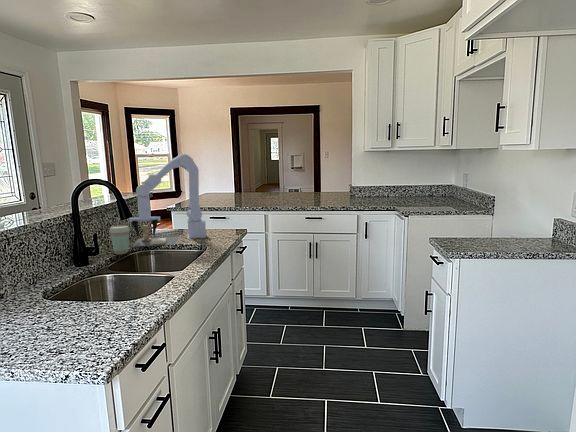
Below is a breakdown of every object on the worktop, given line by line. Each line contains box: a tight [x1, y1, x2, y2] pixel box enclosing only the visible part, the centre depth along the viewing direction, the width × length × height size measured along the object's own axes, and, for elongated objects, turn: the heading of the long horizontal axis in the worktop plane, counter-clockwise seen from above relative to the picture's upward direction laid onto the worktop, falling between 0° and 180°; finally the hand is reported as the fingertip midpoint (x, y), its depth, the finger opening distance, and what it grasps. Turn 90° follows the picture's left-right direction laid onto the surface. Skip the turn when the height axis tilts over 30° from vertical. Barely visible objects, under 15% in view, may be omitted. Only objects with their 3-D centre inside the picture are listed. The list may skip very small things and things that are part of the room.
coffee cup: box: [109, 225, 130, 255], centre depth 173 cm, size 9×8×12 cm
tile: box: [152, 237, 167, 244], centre depth 191 cm, size 6×2×6 cm
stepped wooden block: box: [141, 224, 152, 242], centre depth 195 cm, size 4×4×8 cm
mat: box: [131, 236, 179, 248], centre depth 194 cm, size 20×18×1 cm
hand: (146, 235), depth 195 cm, fingers open, 7 cm apart
